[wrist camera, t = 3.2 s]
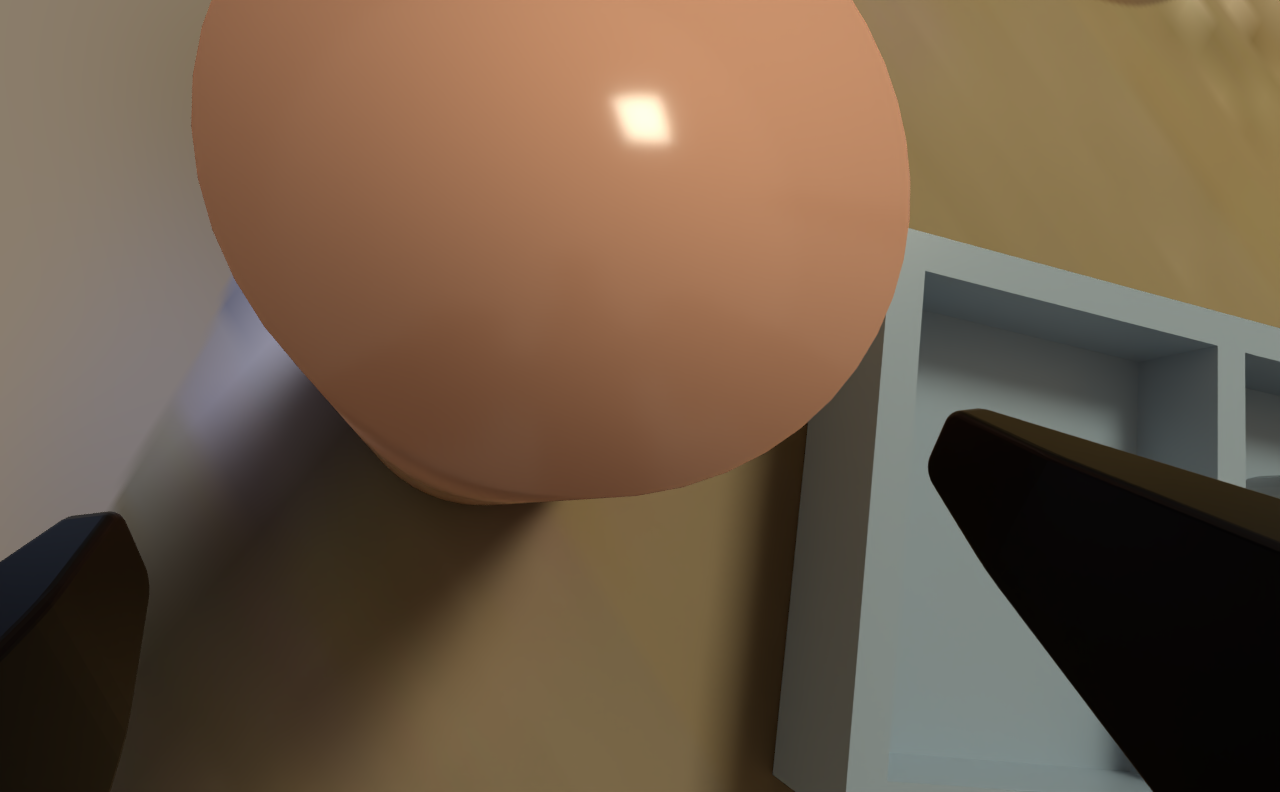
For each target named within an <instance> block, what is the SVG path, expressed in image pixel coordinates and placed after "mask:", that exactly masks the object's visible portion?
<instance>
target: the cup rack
mask: <svg viewBox="0 0 1280 792" xmlns="http://www.w3.org/2000/svg"><path fill="white" fill-rule="evenodd" d="M975 408H981V409H987V410H991V411H994V412H997V413H1000V414H1004V415H1007V416H1010V417H1014V418H1017V419H1020V420H1023V421H1027V422H1030V423H1033V424H1037V425H1040V426H1043V427H1046V428H1050V429H1053V430H1056V431H1060V432H1063V433H1066V434H1069V435H1073V436H1076V437H1079V438H1082V439H1086V440H1089V441H1092V442H1096V443H1099V444H1102V445H1105V446H1109V447H1112V448H1115V449H1119V450H1122V451H1125V452H1128V453H1132V454H1135V455H1138V456H1142V457H1145V458H1148V459H1151V460H1155V461H1158V462H1161V463H1165V464H1168V465H1171V466H1174V467H1178V468H1181V469H1184V470H1188V471H1191V472H1194V473H1197V474H1201V475H1204V476H1207V477H1210V478H1214V479H1217V480H1220V481H1224V482H1227V483H1230V484H1233V485H1237V486H1240V487H1243V488H1246V480H1247V479H1249V478H1253V477H1257V476H1272V475H1280V328H1277V327H1273V326H1269V325H1265V324H1262V323H1258V322H1254V321H1251V320H1247V319H1243V318H1239V317H1236V316H1232V315H1228V314H1225V313H1221V312H1217V311H1214V310H1210V309H1206V308H1202V307H1199V306H1195V305H1191V304H1188V303H1184V302H1180V301H1176V300H1173V299H1169V298H1165V297H1162V296H1158V295H1154V294H1151V293H1147V292H1143V291H1139V290H1136V289H1132V288H1128V287H1125V286H1121V285H1117V284H1113V283H1110V282H1106V281H1102V280H1099V279H1095V278H1091V277H1088V276H1084V275H1080V274H1076V273H1073V272H1069V271H1065V270H1062V269H1058V268H1054V267H1050V266H1047V265H1043V264H1039V263H1036V262H1032V261H1028V260H1025V259H1021V258H1017V257H1013V256H1010V255H1006V254H1002V253H999V252H995V251H991V250H987V249H984V248H980V247H976V246H973V245H969V244H965V243H962V242H958V241H954V240H950V239H947V238H943V237H939V236H936V235H932V234H928V233H925V232H921V231H917V230H913V229H910V228H908V234H907V241H906V248H905V255H904V260H903V264H902V268H901V271H900V275H899V278H898V282H897V286H896V289H895V293H894V296H893V299H892V301H891V304H890V306H889V308H888V311H887V313H886V315H885V318H884V320H883V322H882V325H881V327H880V329H879V332H878V334H877V336H876V337H875V339H874V341H873V342H872V344H871V346H870V347H869V349H868V351H867V352H866V354H865V356H864V357H863V359H862V361H861V362H860V364H859V366H858V367H857V369H856V370H855V371H854V372H853V374H852V375H851V376H850V377H849V379H848V380H847V381H846V382H845V384H844V385H843V386H842V387H841V389H840V390H839V391H838V392H837V393H836V395H835V396H834V397H833V398H832V400H831V401H830V402H829V403H827V404H826V405H825V406H824V407H823V408H822V409H821V410H820V411H819V412H818V413H817V414H816V415H815V416H813V417H812V418H811V419H810V420H809V421H808V428H807V438H806V448H805V458H804V468H803V478H802V488H801V498H800V508H799V518H798V528H797V537H796V547H795V557H794V567H793V577H792V587H791V597H790V607H789V617H788V627H787V637H786V647H785V657H784V667H783V677H782V686H781V696H780V706H779V716H778V726H777V736H776V746H775V756H774V766H773V775H774V776H775V777H776V778H778V779H779V780H780V781H782V782H783V783H784V784H786V785H787V786H788V787H790V788H791V789H792V790H794V791H795V792H1152V790H1151V789H1150V788H1149V786H1148V785H1147V784H1146V782H1145V781H1144V780H1143V778H1142V777H1141V776H1140V774H1139V773H1138V772H1137V770H1136V769H1135V768H1134V766H1133V765H1132V764H1131V762H1130V761H1129V760H1128V758H1127V757H1126V756H1125V755H1124V753H1123V752H1122V751H1121V749H1120V748H1119V747H1118V745H1117V744H1116V743H1115V741H1114V740H1113V739H1112V737H1111V736H1110V735H1109V733H1108V732H1107V731H1106V729H1105V728H1104V727H1103V725H1102V724H1101V723H1100V721H1099V720H1098V719H1097V718H1096V716H1095V715H1094V714H1093V712H1092V711H1091V710H1090V708H1089V707H1088V706H1087V704H1086V703H1085V702H1084V700H1083V699H1082V698H1081V696H1080V695H1079V694H1078V692H1077V691H1076V690H1075V688H1074V687H1073V686H1072V685H1071V683H1070V682H1069V681H1068V679H1067V678H1066V677H1065V675H1064V674H1063V673H1062V671H1061V670H1060V669H1059V667H1058V666H1057V665H1056V663H1055V662H1054V661H1053V659H1052V658H1051V657H1050V655H1049V654H1048V653H1047V651H1046V650H1045V649H1044V648H1043V646H1042V645H1041V644H1040V642H1039V641H1038V640H1037V638H1036V637H1035V636H1034V634H1033V633H1032V632H1031V630H1030V629H1029V628H1028V626H1027V625H1026V624H1025V622H1024V621H1023V620H1022V618H1021V617H1020V616H1019V614H1018V613H1017V612H1016V611H1015V609H1014V608H1013V607H1012V605H1011V604H1010V603H1009V601H1008V600H1007V599H1006V597H1005V596H1004V595H1003V593H1002V592H1001V591H1000V589H999V588H998V587H997V585H996V584H995V583H994V581H993V580H992V578H991V577H990V576H989V574H988V573H987V571H986V570H985V568H984V567H983V565H982V564H981V562H980V561H979V559H978V558H977V556H976V554H975V553H974V551H973V550H972V548H971V546H970V545H969V543H968V541H967V540H966V538H965V537H964V535H963V533H962V532H961V530H960V528H959V527H958V525H957V523H956V522H955V520H954V519H953V517H952V515H951V514H950V512H949V510H948V509H947V507H946V505H945V504H944V502H943V501H942V499H941V497H940V496H939V494H938V492H937V491H936V489H935V487H934V486H933V484H932V482H931V480H930V477H929V474H928V460H929V457H930V455H931V452H932V450H933V448H934V446H935V443H936V441H937V439H938V436H939V434H940V432H941V430H942V427H943V425H944V423H945V421H946V419H947V417H948V416H949V415H950V414H951V413H953V412H955V411H959V410H967V409H975Z"/></svg>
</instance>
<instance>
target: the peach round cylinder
mask: <svg viewBox="0 0 1280 792" xmlns="http://www.w3.org/2000/svg"><path fill="white" fill-rule="evenodd" d="M191 127H192V135H193V143H194V151H195V159H196V167H197V174H198V180H199V184H200V187H201V190H202V194H203V198H204V201H205V205H206V208H207V212H208V216H209V219H210V223H211V226H212V230H213V232H214V234H215V236H216V239H217V241H218V243H219V245H220V247H221V250H222V252H223V254H224V256H225V259H226V261H227V263H228V266H229V268H230V270H231V272H232V274H233V277H234V279H235V281H236V282H237V284H238V285H239V287H240V289H241V290H242V292H243V293H244V295H245V297H246V298H247V300H248V301H249V303H250V305H251V306H252V308H253V309H254V311H255V313H256V314H257V316H258V317H259V319H260V321H261V322H262V324H263V325H264V327H265V328H266V329H267V330H268V332H269V333H270V334H271V335H272V336H273V338H274V339H275V340H276V341H277V342H278V343H279V345H280V346H281V347H282V348H283V349H284V351H285V352H286V353H287V354H288V355H289V357H290V358H291V359H292V360H293V361H294V363H295V364H296V365H297V366H298V367H299V369H300V370H301V371H302V372H303V373H304V374H305V375H306V377H307V378H308V379H309V380H310V381H311V382H312V383H313V384H314V386H315V387H316V388H317V389H318V390H319V391H320V392H321V394H322V395H323V396H324V397H325V398H326V399H327V400H328V401H329V403H330V404H331V405H332V406H333V407H334V408H335V409H336V410H337V412H338V413H339V414H340V415H341V416H342V417H343V418H344V420H345V421H346V422H347V423H348V424H349V425H350V426H351V427H352V429H353V430H354V431H355V432H356V433H357V434H358V435H359V436H360V438H361V439H362V440H363V441H364V442H365V443H366V444H367V446H368V447H369V448H370V449H371V450H372V451H373V452H374V453H375V455H376V456H377V457H378V458H379V459H380V460H381V461H382V463H383V464H384V465H386V466H387V467H388V468H389V469H390V470H391V471H392V472H393V473H394V474H395V475H397V476H398V477H399V478H401V479H402V480H404V481H405V482H407V483H408V484H409V485H411V486H413V487H415V488H416V489H418V490H420V491H422V492H424V493H426V494H428V495H431V496H434V497H437V498H440V499H442V500H445V501H450V502H455V503H459V504H467V505H479V506H482V505H501V504H517V503H532V502H548V501H563V500H579V499H594V498H610V497H625V496H638V495H643V494H649V493H654V492H659V491H665V490H670V489H675V488H681V487H685V486H688V485H691V484H694V483H697V482H700V481H702V480H705V479H708V478H711V477H714V476H717V475H720V474H723V473H726V472H728V471H730V470H732V469H734V468H736V467H738V466H740V465H742V464H744V463H746V462H748V461H750V460H752V459H754V458H756V457H758V456H760V455H762V454H764V453H766V452H767V451H769V450H770V449H772V448H773V447H775V446H776V445H777V444H779V443H780V442H782V441H783V440H785V439H786V438H788V437H789V436H790V435H792V434H793V433H795V432H796V431H798V430H799V429H800V428H802V427H803V426H804V425H805V424H806V423H807V422H808V421H809V420H810V419H811V418H812V417H813V416H815V415H816V414H817V413H818V412H819V411H820V410H821V409H822V408H823V407H824V406H825V405H826V404H827V403H829V402H830V401H831V400H832V398H833V397H834V396H835V395H836V393H837V392H838V391H839V390H840V389H841V387H842V386H843V385H844V384H845V382H846V381H847V380H848V379H849V377H850V376H851V375H852V374H853V372H854V371H855V370H856V369H857V367H858V366H859V364H860V362H861V361H862V359H863V357H864V356H865V354H866V352H867V351H868V349H869V347H870V346H871V344H872V342H873V341H874V339H875V337H876V336H877V334H878V332H879V329H880V327H881V325H882V322H883V320H884V318H885V315H886V313H887V311H888V308H889V306H890V304H891V301H892V299H893V296H894V293H895V289H896V286H897V282H898V278H899V275H900V271H901V268H902V264H903V260H904V255H905V248H906V241H907V234H908V227H909V220H910V172H909V162H908V153H907V143H906V137H905V132H904V128H903V123H902V119H901V114H900V110H899V105H898V101H897V98H896V95H895V92H894V89H893V86H892V83H891V80H890V77H889V74H888V71H887V68H886V65H885V62H884V60H883V58H882V56H881V54H880V52H879V49H878V47H877V45H876V43H875V41H874V39H873V37H872V34H871V32H870V30H869V28H868V26H867V24H866V22H865V21H864V19H863V17H862V16H861V14H860V12H859V11H858V9H857V7H856V6H855V4H854V2H853V1H852V0H211V3H210V6H209V9H208V11H207V14H206V17H205V20H204V22H203V25H202V29H201V35H200V40H199V46H198V51H197V56H196V61H195V66H194V71H193V86H192V122H191Z"/></svg>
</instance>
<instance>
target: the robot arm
mask: <svg viewBox="0 0 1280 792" xmlns="http://www.w3.org/2000/svg"><path fill="white" fill-rule="evenodd" d="M928 474H929V477H930V480H931V482H932V484H933V486H934V487H935V489H936V491H937V492H938V494H939V496H940V497H941V499H942V501H943V502H944V504H945V505H946V507H947V509H948V510H949V512H950V514H951V515H952V517H953V519H954V520H955V522H956V523H957V525H958V527H959V528H960V530H961V532H962V533H963V535H964V537H965V538H966V540H967V541H968V543H969V545H970V546H971V548H972V550H973V551H974V553H975V554H976V556H977V558H978V559H979V561H980V562H981V564H982V565H983V567H984V568H985V570H986V571H987V573H988V574H989V576H990V577H991V578H992V580H993V581H994V583H995V584H996V585H997V587H998V588H999V589H1000V591H1001V592H1002V593H1003V595H1004V596H1005V597H1006V599H1007V600H1008V601H1009V603H1010V604H1011V605H1012V607H1013V608H1014V609H1015V611H1016V612H1017V613H1018V614H1019V616H1020V617H1021V618H1022V620H1023V621H1024V622H1025V624H1026V625H1027V626H1028V628H1029V629H1030V630H1031V632H1032V633H1033V634H1034V636H1035V637H1036V638H1037V640H1038V641H1039V642H1040V644H1041V645H1042V646H1043V648H1044V649H1045V650H1046V651H1047V653H1048V654H1049V655H1050V657H1051V658H1052V659H1053V661H1054V662H1055V663H1056V665H1057V666H1058V667H1059V669H1060V670H1061V671H1062V673H1063V674H1064V675H1065V677H1066V678H1067V679H1068V681H1069V682H1070V683H1071V685H1072V686H1073V687H1074V688H1075V690H1076V691H1077V692H1078V694H1079V695H1080V696H1081V698H1082V699H1083V700H1084V702H1085V703H1086V704H1087V706H1088V707H1089V708H1090V710H1091V711H1092V712H1093V714H1094V715H1095V716H1096V718H1097V719H1098V720H1099V721H1100V723H1101V724H1102V725H1103V727H1104V728H1105V729H1106V731H1107V732H1108V733H1109V735H1110V736H1111V737H1112V739H1113V740H1114V741H1115V743H1116V744H1117V745H1118V747H1119V748H1120V749H1121V751H1122V752H1123V753H1124V755H1125V756H1126V757H1127V758H1128V760H1129V761H1130V762H1131V764H1132V765H1133V766H1134V768H1135V769H1136V770H1137V772H1138V773H1139V774H1140V776H1141V777H1142V778H1143V780H1144V781H1145V782H1146V784H1147V785H1148V786H1149V788H1150V789H1151V790H1152V792H1280V499H1279V498H1276V497H1273V496H1270V495H1266V494H1263V493H1260V492H1256V491H1253V490H1250V489H1247V488H1243V487H1240V486H1237V485H1233V484H1230V483H1227V482H1224V481H1220V480H1217V479H1214V478H1210V477H1207V476H1204V475H1201V474H1197V473H1194V472H1191V471H1188V470H1184V469H1181V468H1178V467H1174V466H1171V465H1168V464H1165V463H1161V462H1158V461H1155V460H1151V459H1148V458H1145V457H1142V456H1138V455H1135V454H1132V453H1128V452H1125V451H1122V450H1119V449H1115V448H1112V447H1109V446H1105V445H1102V444H1099V443H1096V442H1092V441H1089V440H1086V439H1082V438H1079V437H1076V436H1073V435H1069V434H1066V433H1063V432H1060V431H1056V430H1053V429H1050V428H1046V427H1043V426H1040V425H1037V424H1033V423H1030V422H1027V421H1023V420H1020V419H1017V418H1014V417H1010V416H1007V415H1004V414H1000V413H997V412H994V411H991V410H987V409H981V408H975V409H967V410H959V411H955V412H953V413H951V414H950V415H949V416H948V417H947V419H946V421H945V423H944V425H943V427H942V430H941V432H940V434H939V436H938V439H937V441H936V443H935V446H934V448H933V450H932V452H931V455H930V457H929V460H928ZM148 600H149V579H148V574H147V570H146V567H145V565H144V562H143V560H142V558H141V556H140V553H139V551H138V549H137V547H136V544H135V542H134V540H133V537H132V535H131V533H130V531H129V528H128V526H127V524H126V522H125V520H124V519H123V518H122V516H121V515H120V514H117V513H115V512H101V513H93V514H84V515H76V516H71V517H68V518H66V519H63V520H61V521H60V522H58V523H57V524H55V525H54V526H53V527H51V528H49V529H48V530H46V531H45V532H44V533H42V534H41V535H39V536H38V537H36V538H35V539H33V540H32V541H30V542H29V543H27V544H26V545H24V546H23V547H21V548H20V549H18V550H17V551H16V552H14V553H13V554H11V555H10V556H8V557H7V558H5V559H4V560H2V561H1V562H0V792H110V790H111V786H112V783H113V780H114V776H115V773H116V770H117V767H118V763H119V760H120V756H121V752H122V749H123V745H124V741H125V737H126V733H127V728H128V723H129V717H130V712H131V706H132V700H133V694H134V687H135V681H136V675H137V669H138V663H139V656H140V650H141V644H142V638H143V631H144V625H145V619H146V613H147V606H148Z"/></svg>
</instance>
